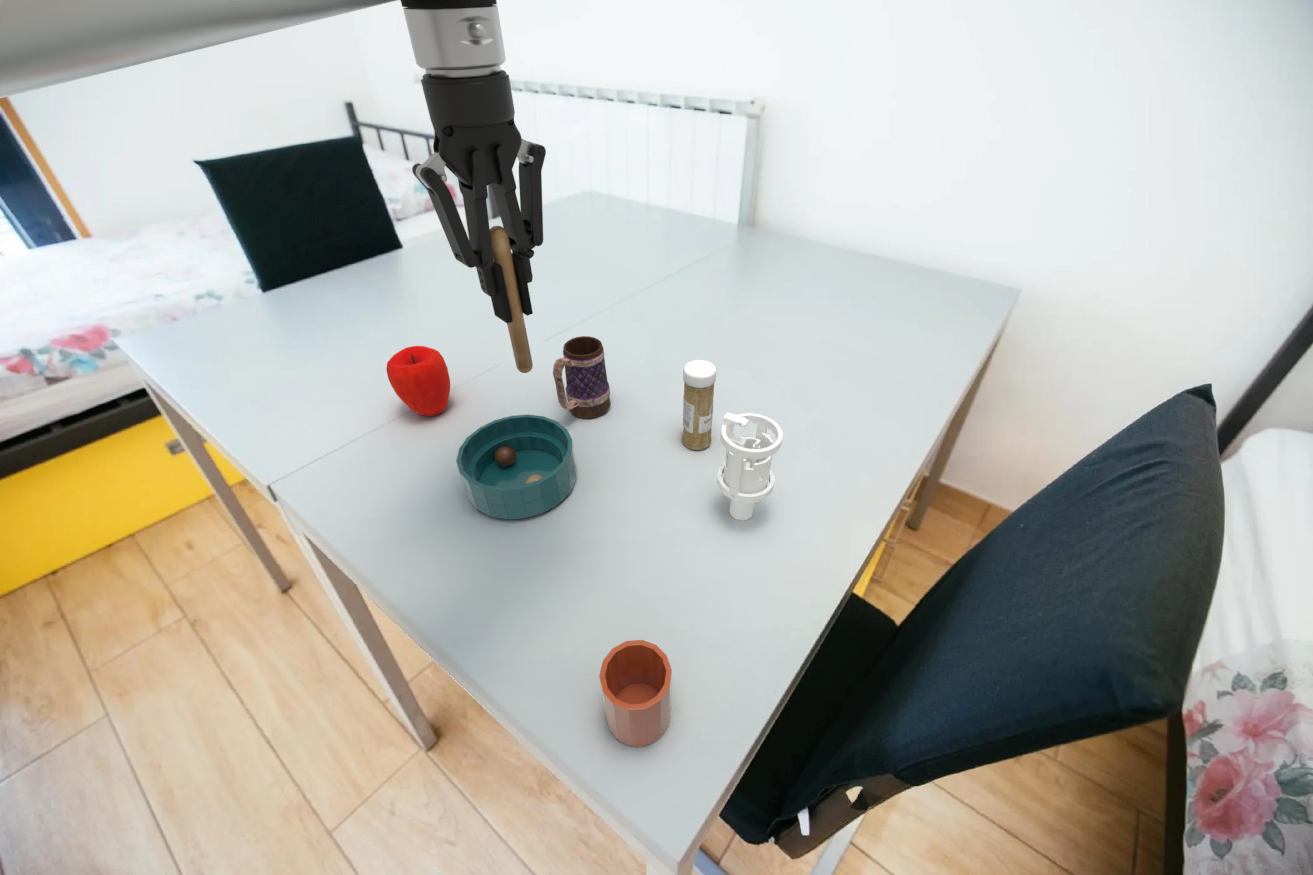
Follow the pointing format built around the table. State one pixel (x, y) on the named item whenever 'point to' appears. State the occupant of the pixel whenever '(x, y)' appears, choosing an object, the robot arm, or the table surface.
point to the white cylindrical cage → (747, 463)
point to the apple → (420, 379)
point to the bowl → (518, 466)
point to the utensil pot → (636, 692)
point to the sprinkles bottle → (698, 403)
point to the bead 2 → (533, 478)
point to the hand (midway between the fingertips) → (513, 314)
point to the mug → (583, 378)
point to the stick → (512, 299)
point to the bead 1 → (505, 456)
